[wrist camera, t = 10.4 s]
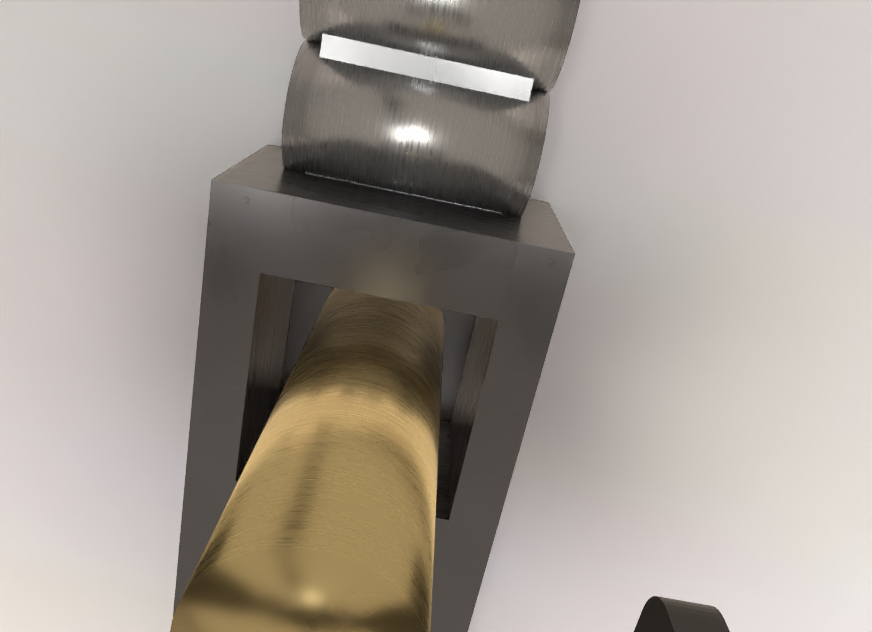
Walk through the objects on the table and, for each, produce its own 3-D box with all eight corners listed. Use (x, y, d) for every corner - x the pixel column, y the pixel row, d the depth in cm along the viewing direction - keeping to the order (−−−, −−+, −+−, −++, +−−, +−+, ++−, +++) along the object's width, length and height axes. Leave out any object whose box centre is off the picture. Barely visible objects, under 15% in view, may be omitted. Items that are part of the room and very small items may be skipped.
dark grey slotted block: (297, -108, 14) (195, -193, 9) (612, -38, 15) (706, -77, 9) (196, 763, 24) (116, 991, 18) (392, 795, 24) (372, 1030, 18)
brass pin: (330, 257, 17) (178, 526, 8) (455, 282, 17) (453, 575, 8) (312, 369, 18) (161, 723, 9) (430, 392, 18) (402, 764, 9)
